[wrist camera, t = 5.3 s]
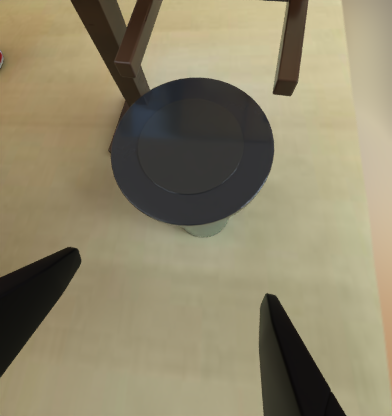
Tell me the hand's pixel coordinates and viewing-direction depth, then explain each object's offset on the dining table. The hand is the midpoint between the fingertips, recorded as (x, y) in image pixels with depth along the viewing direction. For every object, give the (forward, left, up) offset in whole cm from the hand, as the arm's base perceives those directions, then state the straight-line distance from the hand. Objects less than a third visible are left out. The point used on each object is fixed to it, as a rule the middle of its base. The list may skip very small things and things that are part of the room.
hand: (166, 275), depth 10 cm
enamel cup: (+5, -3, -11) cm, 13 cm away
